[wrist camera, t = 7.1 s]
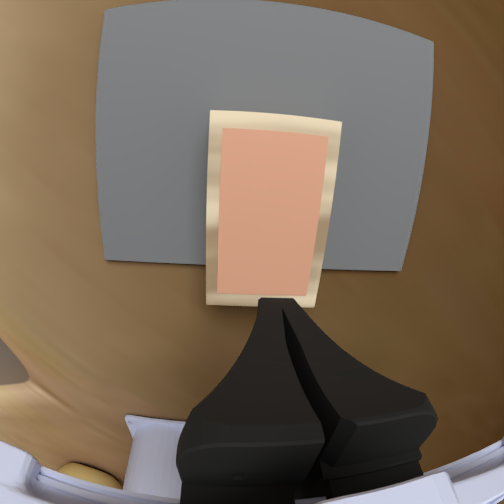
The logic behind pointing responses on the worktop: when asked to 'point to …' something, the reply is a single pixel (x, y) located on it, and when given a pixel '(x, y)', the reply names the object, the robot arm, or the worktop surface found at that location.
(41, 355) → the worktop surface
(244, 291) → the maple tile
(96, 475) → the beige lumpy ball
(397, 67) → the mat
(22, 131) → the worktop surface
